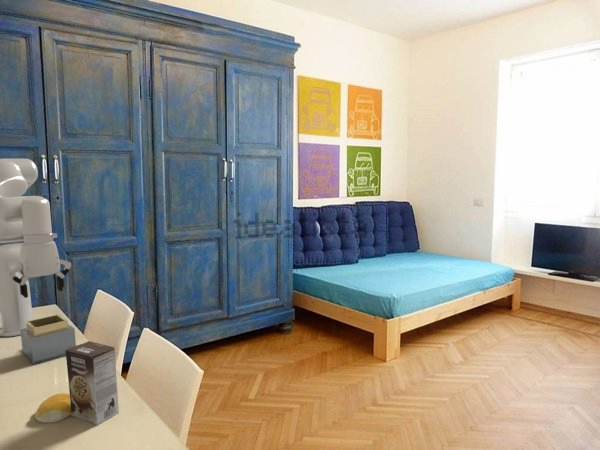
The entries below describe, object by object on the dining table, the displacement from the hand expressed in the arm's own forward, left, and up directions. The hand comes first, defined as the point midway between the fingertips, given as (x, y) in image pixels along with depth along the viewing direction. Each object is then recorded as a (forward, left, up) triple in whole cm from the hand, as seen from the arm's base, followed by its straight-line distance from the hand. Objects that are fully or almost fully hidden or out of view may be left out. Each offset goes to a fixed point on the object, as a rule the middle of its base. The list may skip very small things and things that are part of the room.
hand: (43, 293), depth 139 cm
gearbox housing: (-1, 0, -19) cm, 19 cm away
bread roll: (+41, -9, -20) cm, 47 cm away
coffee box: (+49, -3, -19) cm, 53 cm away
